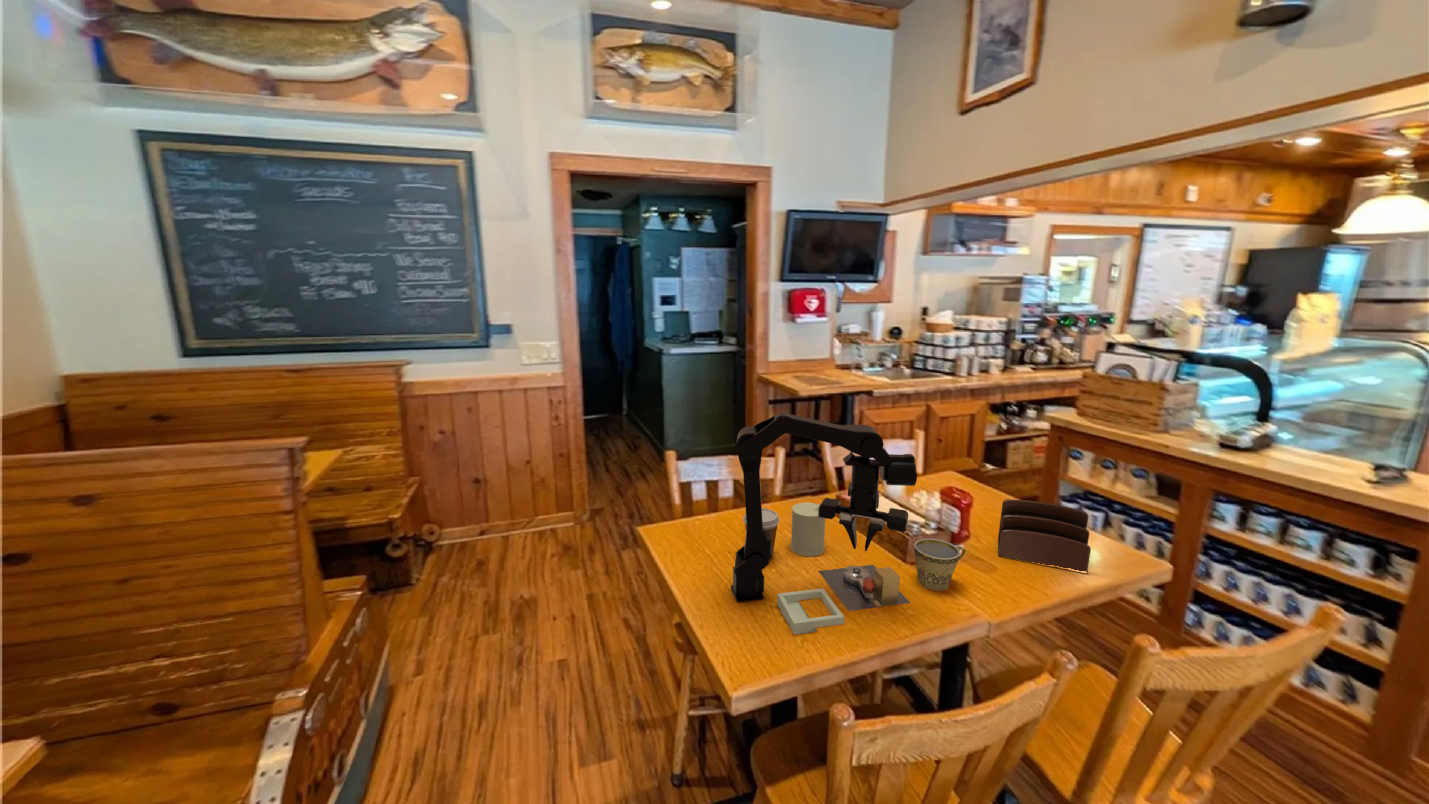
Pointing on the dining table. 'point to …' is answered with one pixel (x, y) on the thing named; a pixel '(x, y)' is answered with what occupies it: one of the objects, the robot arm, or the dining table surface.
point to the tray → (799, 617)
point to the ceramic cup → (936, 562)
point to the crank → (860, 579)
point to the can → (807, 530)
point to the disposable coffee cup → (768, 524)
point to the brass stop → (886, 584)
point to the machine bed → (855, 590)
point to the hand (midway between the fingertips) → (860, 549)
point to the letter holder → (1044, 534)
